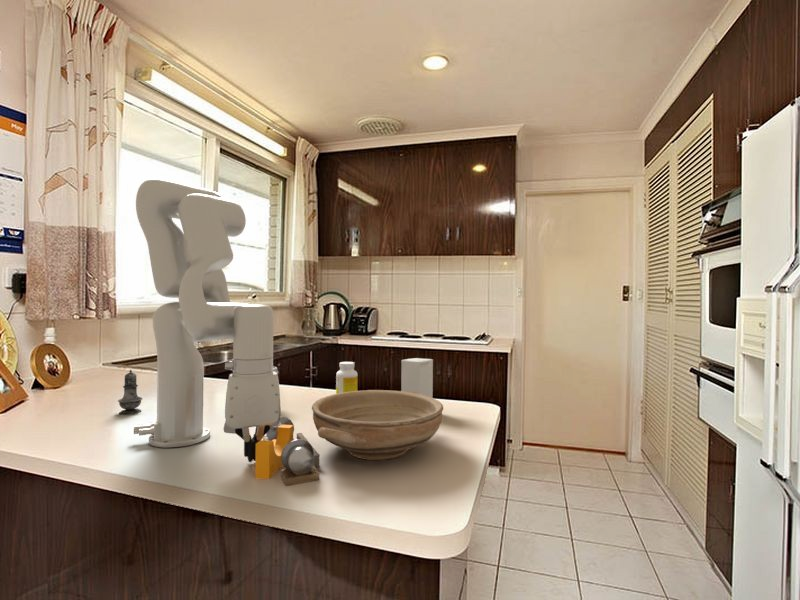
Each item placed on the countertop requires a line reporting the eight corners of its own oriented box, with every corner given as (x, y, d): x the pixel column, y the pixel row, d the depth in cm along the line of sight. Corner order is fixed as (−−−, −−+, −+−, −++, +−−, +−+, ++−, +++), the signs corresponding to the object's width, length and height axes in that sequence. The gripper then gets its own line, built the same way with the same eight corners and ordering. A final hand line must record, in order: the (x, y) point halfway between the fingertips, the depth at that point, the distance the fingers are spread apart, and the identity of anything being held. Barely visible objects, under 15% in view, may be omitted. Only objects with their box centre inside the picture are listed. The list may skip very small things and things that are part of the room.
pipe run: (285, 485, 75) (286, 449, 75) (263, 441, 98) (263, 413, 98) (327, 478, 79) (327, 443, 79) (295, 436, 102) (296, 409, 101)
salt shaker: (112, 413, 119) (113, 370, 119) (132, 408, 125) (133, 367, 125) (127, 415, 117) (127, 372, 117) (147, 410, 123) (147, 368, 122)
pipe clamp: (273, 454, 90) (273, 424, 90) (293, 455, 90) (293, 425, 90) (246, 478, 79) (246, 443, 79) (268, 479, 78) (269, 444, 78)
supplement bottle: (361, 403, 135) (362, 362, 135) (348, 407, 129) (348, 365, 129) (345, 400, 138) (345, 360, 138) (331, 404, 133) (331, 363, 133)
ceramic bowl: (367, 419, 117) (368, 382, 117) (467, 435, 104) (467, 394, 104) (267, 464, 85) (268, 414, 85) (395, 498, 71) (396, 438, 71)
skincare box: (418, 418, 119) (419, 362, 119) (398, 414, 123) (399, 359, 122) (433, 411, 126) (434, 358, 126) (414, 408, 130) (415, 356, 129)
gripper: (212, 372, 78) (211, 472, 78) (295, 367, 85) (294, 460, 85) (211, 366, 85) (210, 458, 85) (287, 362, 91) (286, 447, 92)
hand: (252, 459), depth 85 cm, fingers closed
